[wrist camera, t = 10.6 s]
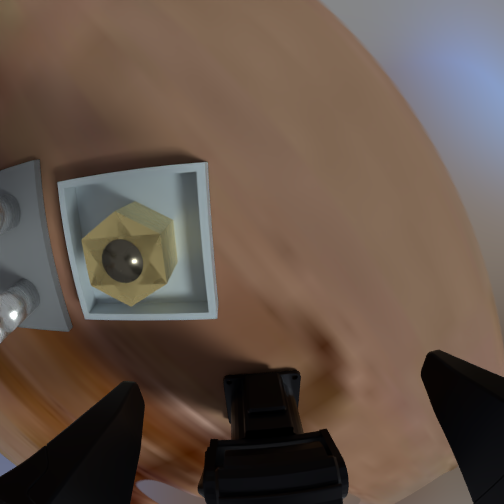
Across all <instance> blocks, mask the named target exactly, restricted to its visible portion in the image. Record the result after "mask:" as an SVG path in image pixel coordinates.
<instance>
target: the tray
mask: <svg viewBox="0 0 504 504" xmlns="http://www.w3.org/2000/svg"><path fill="white" fill-rule="evenodd" d="M57 183H58V192H59V201H60V208H61V215H62V222H63V228H64V234H65V240H66V245H67V250H68V255H69V260H70V264H71V269H72V273H73V277H74V281H75V285H76V289H77V293H78V297H79V300H80V304H81V307H82V311H83V314H84V317H85V319H91V320H194V319H217V314H218V296H217V285H216V274H215V262H214V250H213V237H212V224H211V209H210V194H209V177H208V162H200V163H188V164H177V165H167V166H157V167H149V168H140V169H133V170H125V171H118V172H112V173H105V174H99V175H93V176H87V177H81V178H76V179H70V180H66V181H61V182H57ZM134 201H136V202H138V203H140V204H142V205H144V206H146V207H148V208H150V209H152V210H154V211H156V212H158V213H160V214H162V215H164V216H166V217H168V218H170V219H172V220H173V222H174V232H175V242H176V251H177V260H178V262H177V264H176V266H175V268H174V270H173V272H172V275H171V277H170V279H169V281H168V283H167V284H166V285H164V286H163V287H161V288H160V289H158V290H156V291H155V292H153V293H152V294H150V295H149V296H147V297H146V298H144V299H143V300H141V301H139V302H138V303H136V304H135V305H133V306H132V307H131V306H129V305H127V304H125V303H123V302H121V301H119V300H117V299H115V298H113V297H111V296H109V295H107V294H105V293H104V292H102V291H100V290H98V289H96V288H94V287H92V286H91V284H90V280H89V276H88V271H87V267H86V262H85V257H84V252H83V246H82V241H81V240H82V239H83V238H84V237H85V236H86V235H87V234H88V233H89V232H91V231H92V230H93V229H94V228H95V227H96V226H98V225H99V224H100V223H101V222H102V221H103V220H105V219H106V218H107V217H108V216H109V215H111V214H112V213H113V212H114V211H116V210H118V209H120V208H122V207H124V206H126V205H128V204H130V203H132V202H134Z"/></svg>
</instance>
